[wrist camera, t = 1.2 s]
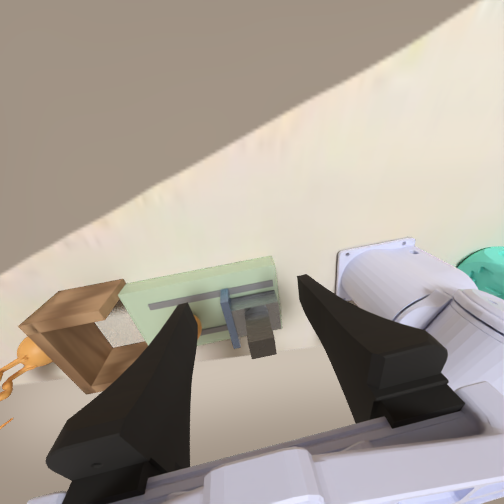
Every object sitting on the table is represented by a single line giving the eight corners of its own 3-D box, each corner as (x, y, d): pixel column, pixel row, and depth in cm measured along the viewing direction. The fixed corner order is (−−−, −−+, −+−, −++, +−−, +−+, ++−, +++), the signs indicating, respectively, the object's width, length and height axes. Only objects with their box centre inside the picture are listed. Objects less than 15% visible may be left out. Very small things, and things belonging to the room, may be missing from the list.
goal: (123, 278, 23) (98, 310, 18) (160, 344, 28) (147, 381, 24) (58, 291, 23) (17, 326, 18) (108, 355, 28) (86, 394, 24)
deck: (271, 255, 24) (275, 265, 22) (279, 317, 28) (282, 329, 26) (125, 283, 23) (116, 296, 21) (158, 341, 28) (153, 356, 26)
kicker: (272, 279, 22) (286, 316, 17) (278, 324, 25) (291, 365, 21) (220, 289, 22) (219, 329, 17) (233, 333, 25) (235, 377, 20)
